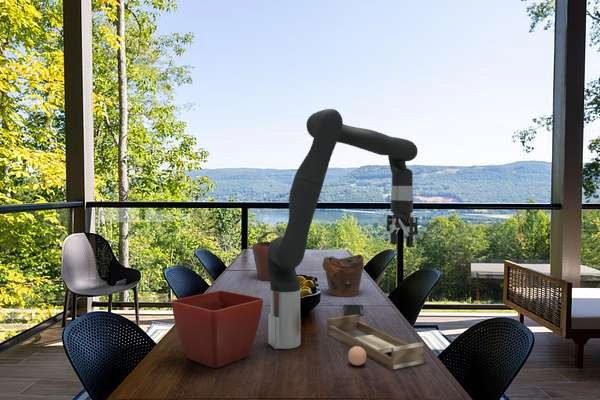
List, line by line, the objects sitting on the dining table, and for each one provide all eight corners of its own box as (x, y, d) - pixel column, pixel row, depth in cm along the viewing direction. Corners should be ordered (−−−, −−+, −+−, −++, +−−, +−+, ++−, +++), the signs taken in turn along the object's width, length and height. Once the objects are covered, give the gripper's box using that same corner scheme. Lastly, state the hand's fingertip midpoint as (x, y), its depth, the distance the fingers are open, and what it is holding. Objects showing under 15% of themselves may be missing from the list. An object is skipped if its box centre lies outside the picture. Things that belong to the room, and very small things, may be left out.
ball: (354, 369, 129) (354, 350, 128) (344, 363, 133) (344, 345, 133) (369, 366, 131) (370, 348, 131) (359, 360, 135) (360, 342, 135)
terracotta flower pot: (313, 293, 219) (314, 254, 218) (343, 287, 232) (344, 250, 232) (341, 301, 206) (342, 259, 205) (372, 294, 219) (372, 255, 218)
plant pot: (221, 342, 151) (220, 289, 151) (265, 356, 139) (265, 298, 138) (169, 359, 136) (169, 300, 136) (214, 376, 124) (213, 311, 124)
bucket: (248, 276, 262) (248, 230, 261) (285, 273, 271) (285, 229, 270) (264, 284, 240) (263, 234, 239) (303, 280, 249) (303, 232, 248)
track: (391, 370, 128) (391, 348, 128) (327, 333, 160) (327, 315, 160) (426, 363, 133) (426, 341, 133) (358, 329, 165) (358, 311, 165)
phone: (362, 304, 196) (363, 314, 181) (362, 307, 196) (363, 317, 181) (343, 304, 196) (342, 314, 182) (343, 307, 196) (342, 316, 182)
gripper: (380, 198, 171) (380, 244, 171) (406, 199, 158) (405, 248, 158) (398, 198, 174) (397, 243, 174) (424, 199, 161) (423, 247, 162)
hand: (401, 245), depth 166 cm, fingers open, 8 cm apart
